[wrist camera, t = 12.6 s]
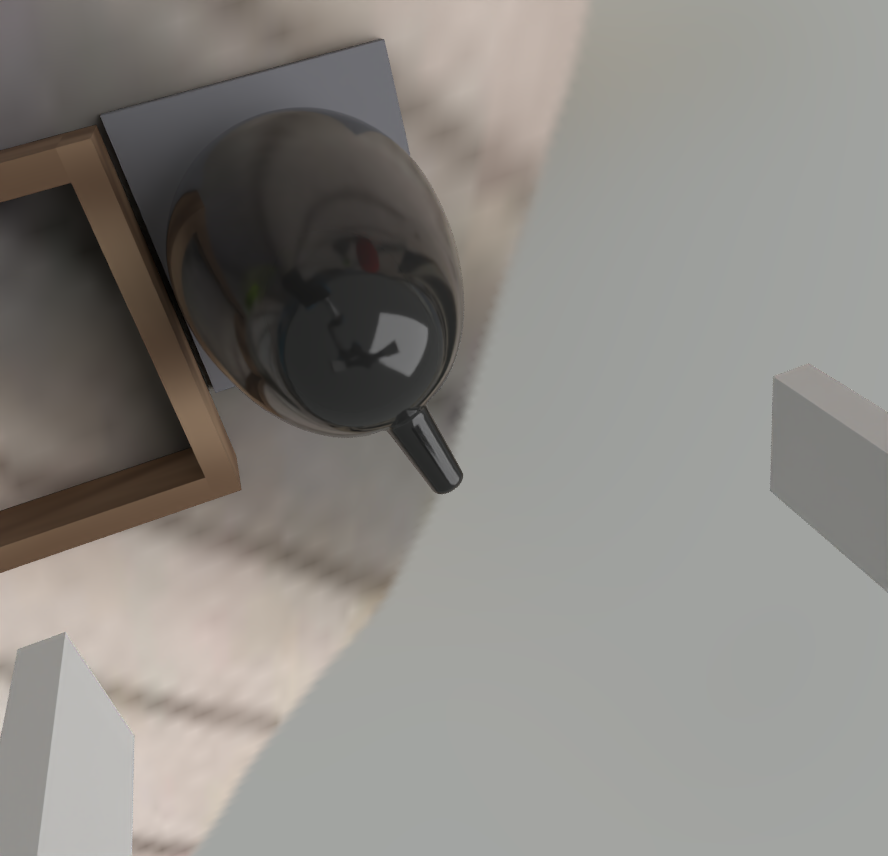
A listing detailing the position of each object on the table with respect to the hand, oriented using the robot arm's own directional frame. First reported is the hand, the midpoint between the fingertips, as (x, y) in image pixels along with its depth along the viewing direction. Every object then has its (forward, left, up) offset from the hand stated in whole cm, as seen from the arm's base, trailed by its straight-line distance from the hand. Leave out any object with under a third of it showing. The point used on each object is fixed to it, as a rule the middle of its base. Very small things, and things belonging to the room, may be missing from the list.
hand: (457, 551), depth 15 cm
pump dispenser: (0, 0, -23) cm, 23 cm away
